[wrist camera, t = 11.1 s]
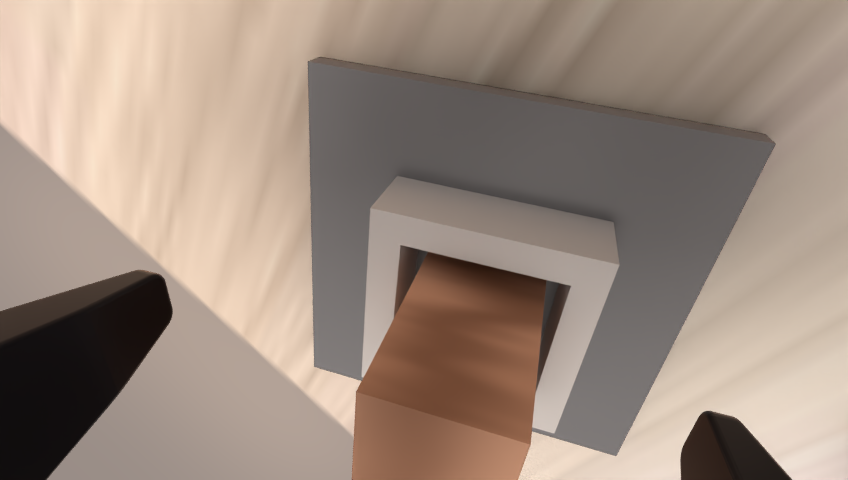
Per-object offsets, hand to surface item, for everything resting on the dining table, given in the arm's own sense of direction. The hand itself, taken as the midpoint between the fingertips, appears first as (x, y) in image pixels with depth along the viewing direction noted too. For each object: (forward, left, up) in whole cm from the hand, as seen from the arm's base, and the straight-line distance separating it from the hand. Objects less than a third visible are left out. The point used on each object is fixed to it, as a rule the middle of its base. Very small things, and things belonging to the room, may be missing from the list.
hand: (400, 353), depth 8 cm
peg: (-1, +7, -11) cm, 13 cm away
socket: (-1, +7, -13) cm, 14 cm away
